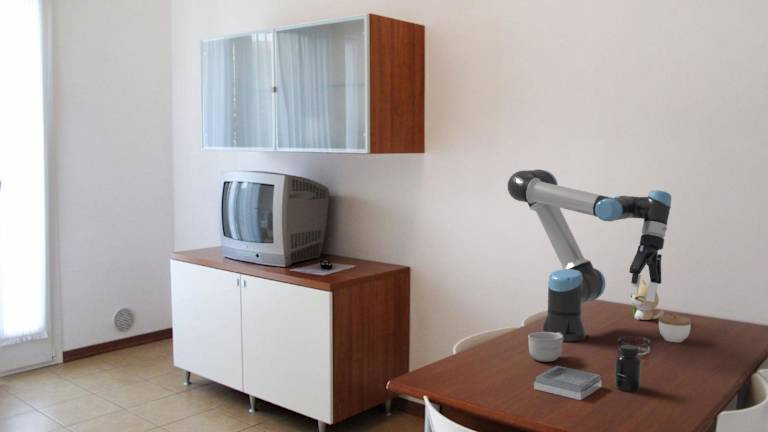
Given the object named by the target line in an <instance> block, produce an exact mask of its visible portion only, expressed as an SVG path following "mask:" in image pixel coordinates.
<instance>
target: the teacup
mask: <svg viewBox="0 0 768 432" xmlns="http://www.w3.org/2000/svg"><path fill="white" fill-rule="evenodd" d="M527 335H528V336H527V338H528V350H529V351H528V352H529V355H530V356H531V357H532V358H534V360H536V361H538V362H546V363H548V362H556V361H557V359H558V358H559V357H561V356H562V353H563V342H564V341H563V339H564V337H563V334H562V333H552V332H542V331H538V332H532V333H529V334H527Z"/></svg>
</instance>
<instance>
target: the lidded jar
mask: <svg viewBox="0 0 768 432" xmlns="http://www.w3.org/2000/svg"><path fill="white" fill-rule="evenodd" d="M691 324H692V319H691V318H689V317H687V316H682V315H677V313H673V314H663V315H662V316H660V317H659V318H658V329H659V333H660V335H661V336H662V338H663V339H664V341H666V342H671V343H682V342H684V341H685V340H686V339H687V338H688V337H689V335H690V332H691Z"/></svg>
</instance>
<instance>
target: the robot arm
mask: <svg viewBox="0 0 768 432" xmlns="http://www.w3.org/2000/svg"><path fill="white" fill-rule="evenodd" d="M507 191H508V194H509V195H510V197H512V199H513V200H516V201H518V202H524V203H527V205H528V207H529V209H530V210H531V211H534V212H535V213H536V214H537V216H538V219H539V220H540V222H541V223H540V224H542V227H543V229H544V231H545V233H546V235H547V238H548V239H549V242H550V243H551V246H552V248H553V250H554V252H555V254H556V257H557V258H558V261H559V263H560V264H561V267H562V269H557V270H555V271H552V272H551V273H549V277H548V281H547V285H548V286H547V288H548V289H547V290H548V291H547V293H548V294H547V315H546V318H545V320H544V323H543V326H542V328H541V329H542V330H541V332H552V333H562V334H563V337H564V339H563V342H579V341H583V340H585V339H586V329H585V326H584V322H583V319H582V304H585V303H587V302H593V301H594V300H597V299H598V298H600V297H601V296H602V295H603V293H604V292H605V289H606V278H605V276H604V274H603V273H602V271H600V270H599V269H597V268H595V267H594V265H593V264H592V262H591V260H590V259H587V258H585V257H584V255H583V253H582V251H581V249H580V247H579V244H578V243H577V240H576V239H575V236H574V235H573V232H572V230H571V228H570V226H569V224H568V223H567V221H566V218H565V216H564V214H563V212H562V210H561V209H564V210H569V211H572V212H577V213H581V214H585V215H589V216H593V217H595V218H596V217H597V218H598V219H599V220H601V221H604V222H614V221H619V220H626V219H642V220H643V223H642V227H641V228H642V229H641V235H640V239H639V245H638V246H637V251H636V253H635V256H634V258H633V260H632V262H631V265H630V267H629V274H631V279H630V280H631V281H630V285H629V291H628V294H629V295H630V294H631V295H632V294H636V295H638V290H639V286H641V280H642V278H641V277H642V275H641V273H642V271H643V270H644V268H645V267H646V265H647V266H648V271H649V278H650V279H649V280H650V281H649V282H648V285H647V286H648V291H647V297H646V301H650V302H654V301H655V296H656V292H657V289H658V285H659V284H660V285H661V284H662V254H660V253H658V251H659V250H660V251H661V250H663V249H664V244H665V236H666V232H667V230H668V228H667V226H668V220H669V215H670V211H671V207H672V206H671V205H672V195H671V194H670V193H669V192H667V191H664V190H658V189H657V190H651V191H648V195H647V196H634V195H633V196H629V195H616V196H614V197H611V196H605V195H601V194H597V193H593V192H589V191H584V190H579V189H575V188H570V187H566V186H561V185H558V181H557V178H556V177H555V175H554V174H553V173H551V172H550V171H548V170H544V169H533V170H519V171H516V172H515V173H513V174H511V176H510V178H509V179H508V181H507Z"/></svg>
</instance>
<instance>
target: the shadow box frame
mask: <svg viewBox="0 0 768 432" xmlns="http://www.w3.org/2000/svg"><path fill="white" fill-rule="evenodd" d="M602 382H603V381H602V379H601V374H597V373H592V372H588V371H584V370H579V369H574V368H570V367H565V366H561V365H555V366H553V367H552V368H550V369H548V370H545V371H544V372H542V373H540V374H538V375H536V376H535V381H534V382H533V389H534V390H537V391H542V392H546V393H550V394H554V395H557V396H560V397H561V396H562V397H564V398H565V397H566V398H569V399H573V400H578V401H582V400H583V399H585V398H587V397H588V396H589V395H591V394H593V393H594V392H596V391H597V390H599V389H600V388H602Z"/></svg>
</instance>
